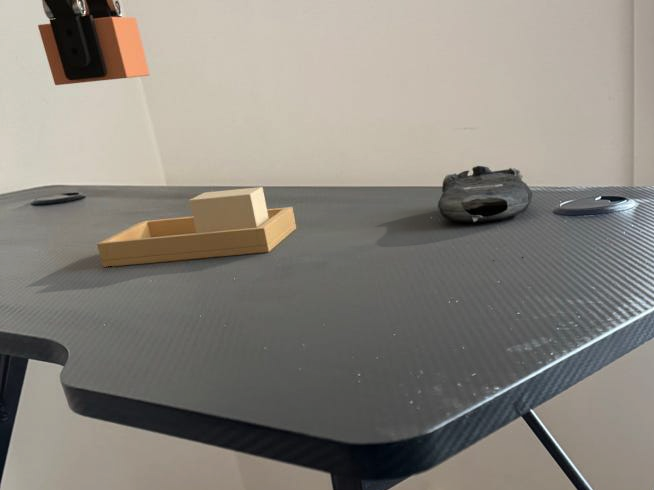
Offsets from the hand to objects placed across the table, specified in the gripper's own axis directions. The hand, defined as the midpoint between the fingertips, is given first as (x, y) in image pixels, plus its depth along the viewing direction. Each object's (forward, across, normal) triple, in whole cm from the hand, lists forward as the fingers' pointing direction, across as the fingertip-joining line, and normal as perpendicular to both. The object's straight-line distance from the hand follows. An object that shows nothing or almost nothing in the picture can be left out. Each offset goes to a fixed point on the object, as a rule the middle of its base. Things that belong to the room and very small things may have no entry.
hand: (101, 74), depth 75 cm
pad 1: (0, 0, 0) cm, 0 cm away
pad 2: (+15, -11, +4) cm, 19 cm away
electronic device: (+15, -17, +29) cm, 37 cm away
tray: (+15, -11, +1) cm, 19 cm away
